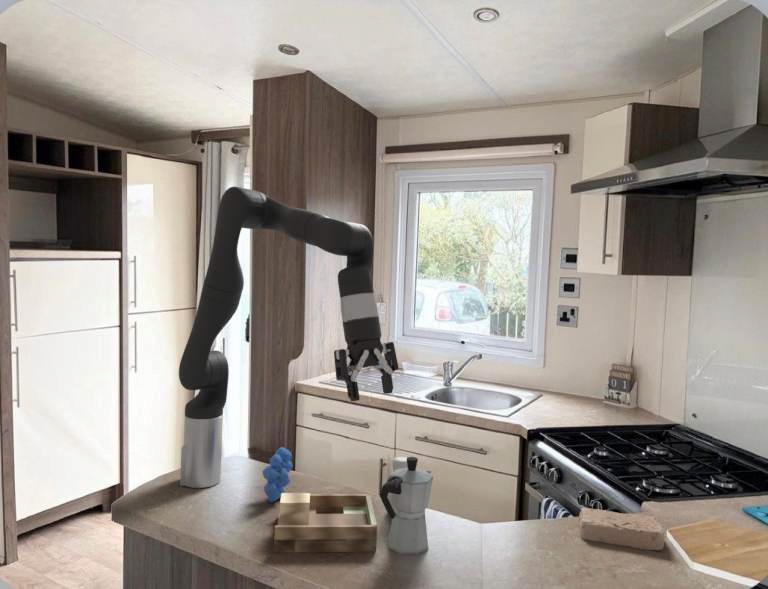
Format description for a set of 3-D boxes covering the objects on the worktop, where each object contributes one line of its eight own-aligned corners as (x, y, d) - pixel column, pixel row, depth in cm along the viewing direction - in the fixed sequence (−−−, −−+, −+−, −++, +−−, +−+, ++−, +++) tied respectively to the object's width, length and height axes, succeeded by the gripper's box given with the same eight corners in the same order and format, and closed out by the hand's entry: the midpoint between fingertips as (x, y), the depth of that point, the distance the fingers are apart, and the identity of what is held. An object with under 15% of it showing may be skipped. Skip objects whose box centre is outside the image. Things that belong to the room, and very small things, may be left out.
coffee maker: (413, 527, 122) (417, 446, 121) (444, 543, 115) (449, 457, 115) (362, 549, 111) (366, 460, 110) (394, 567, 105) (398, 473, 104)
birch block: (279, 526, 114) (280, 502, 114) (280, 516, 119) (281, 492, 119) (308, 526, 114) (309, 502, 114) (309, 515, 119) (310, 493, 119)
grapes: (272, 487, 140) (274, 440, 140) (297, 491, 139) (299, 443, 138) (249, 505, 129) (251, 454, 129) (276, 509, 127) (278, 457, 127)
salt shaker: (381, 515, 127) (384, 459, 127) (393, 506, 132) (395, 452, 132) (404, 521, 124) (407, 464, 124) (415, 512, 130) (418, 457, 129)
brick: (580, 540, 120) (581, 519, 120) (577, 523, 128) (579, 503, 128) (664, 555, 116) (666, 533, 116) (656, 537, 124) (658, 516, 124)
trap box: (273, 552, 108) (274, 527, 108) (279, 516, 124) (280, 494, 124) (376, 551, 111) (377, 526, 110) (368, 515, 127) (370, 494, 126)
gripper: (376, 317, 121) (387, 391, 120) (321, 323, 112) (332, 403, 111) (398, 312, 116) (410, 390, 114) (342, 318, 107) (354, 403, 105)
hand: (371, 397), depth 112 cm, fingers open, 8 cm apart
